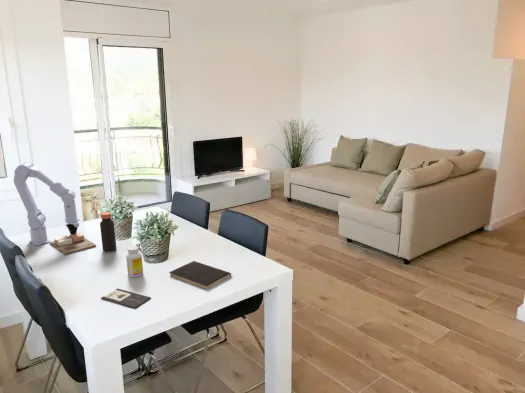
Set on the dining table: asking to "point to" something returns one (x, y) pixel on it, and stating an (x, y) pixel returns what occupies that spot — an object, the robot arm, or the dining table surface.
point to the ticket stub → (76, 237)
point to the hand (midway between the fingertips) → (73, 236)
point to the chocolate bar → (126, 298)
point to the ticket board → (71, 245)
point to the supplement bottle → (134, 262)
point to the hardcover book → (200, 274)
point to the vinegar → (107, 232)
